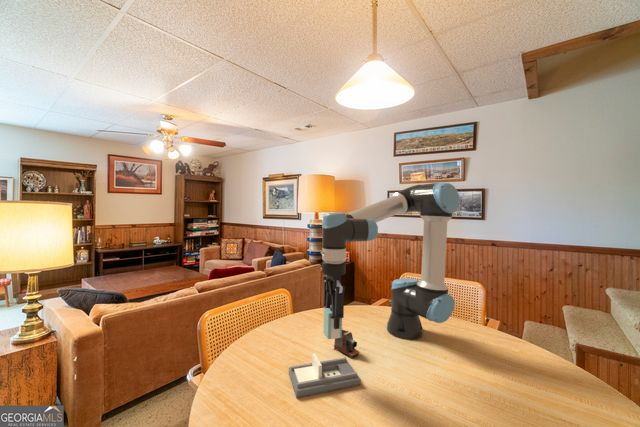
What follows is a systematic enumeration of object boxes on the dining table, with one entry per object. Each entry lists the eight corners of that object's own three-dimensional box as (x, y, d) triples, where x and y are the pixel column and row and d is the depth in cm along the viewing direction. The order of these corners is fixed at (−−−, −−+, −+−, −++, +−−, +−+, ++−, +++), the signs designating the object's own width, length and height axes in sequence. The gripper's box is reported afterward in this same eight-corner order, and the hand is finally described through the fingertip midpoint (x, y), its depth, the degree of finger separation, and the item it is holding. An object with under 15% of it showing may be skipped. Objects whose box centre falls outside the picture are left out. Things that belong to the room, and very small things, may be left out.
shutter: (315, 367, 89) (315, 353, 89) (321, 380, 82) (321, 365, 82) (294, 370, 87) (294, 356, 87) (299, 384, 80) (299, 369, 80)
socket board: (345, 363, 95) (345, 355, 95) (360, 385, 83) (360, 375, 83) (288, 373, 89) (288, 364, 89) (296, 398, 77) (296, 387, 77)
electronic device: (351, 359, 98) (352, 338, 97) (333, 349, 105) (333, 329, 105) (359, 355, 100) (360, 335, 100) (341, 345, 108) (341, 326, 108)
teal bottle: (336, 331, 89) (337, 302, 89) (341, 337, 85) (342, 307, 85) (323, 332, 88) (324, 303, 88) (327, 339, 84) (328, 308, 84)
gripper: (314, 256, 93) (313, 324, 94) (331, 267, 77) (330, 349, 77) (335, 256, 96) (334, 321, 96) (356, 266, 79) (354, 346, 79)
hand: (332, 333), depth 87 cm, fingers closed on teal bottle, 4 cm apart
